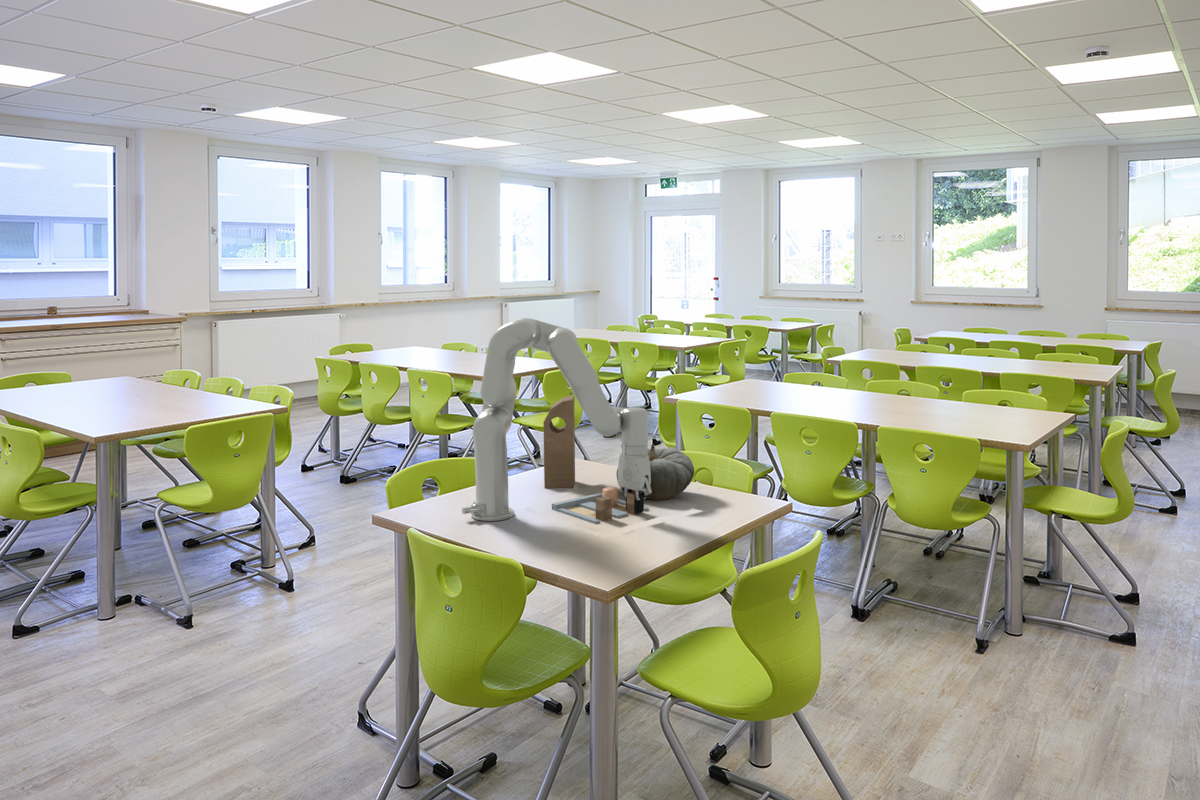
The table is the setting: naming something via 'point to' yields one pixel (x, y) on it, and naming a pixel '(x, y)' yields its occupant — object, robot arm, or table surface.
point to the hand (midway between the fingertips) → (634, 510)
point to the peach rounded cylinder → (611, 495)
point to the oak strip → (629, 504)
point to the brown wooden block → (603, 509)
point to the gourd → (668, 472)
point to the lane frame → (588, 504)
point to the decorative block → (560, 446)
